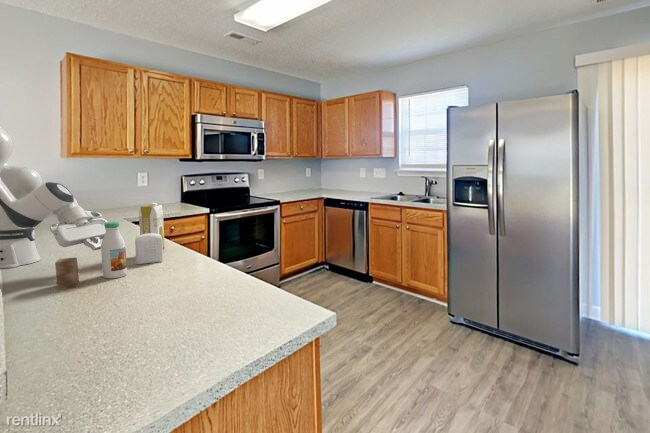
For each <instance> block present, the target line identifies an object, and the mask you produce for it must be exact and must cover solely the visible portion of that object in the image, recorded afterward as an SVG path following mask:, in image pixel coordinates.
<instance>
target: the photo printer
mask: <svg viewBox="0 0 650 433" xmlns="http://www.w3.org/2000/svg"><path fill="white" fill-rule="evenodd" d="M134 241H135V242H134V245H135V264H137V265H143V264H151V263H160V262H161V263H162V262H163V261H164V254H163V245H162V237H161V235H160V234H154V233H148V234H142V235H140V234H139V235H137V236H136V237H135V240H134Z"/></svg>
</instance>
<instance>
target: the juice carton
mask: <svg viewBox="0 0 650 433" xmlns="http://www.w3.org/2000/svg"><path fill="white" fill-rule="evenodd" d="M138 209H139V210H138V219H139V235H142V234H148V233H154V234H160V235H161V237H162V245H163V255H164V254H165V231H164V229H165V228H164V213H163V212H164V211H163V204H158V202H151V203H150V204H147V205H144V206H143V205H141V206H139V207H138Z"/></svg>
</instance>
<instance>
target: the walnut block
mask: <svg viewBox="0 0 650 433" xmlns="http://www.w3.org/2000/svg"><path fill="white" fill-rule="evenodd" d="M54 265H55V266H54V267H55V273H56V276H55V277H56V285H57V287H56V288H57V290H61V289H72V288H76V287H78V286H79V283H80V278H79V277H80V274H79V266H78V265H79V264H78V257H67V258H66V257H65V258H58V259H57V260H56V261H55V262H54Z"/></svg>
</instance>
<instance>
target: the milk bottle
mask: <svg viewBox="0 0 650 433" xmlns="http://www.w3.org/2000/svg"><path fill="white" fill-rule="evenodd" d="M104 226H105V229H106V232H105V236H104V238H103V239H102V241H101V243H100V244H101V249H100V252H101V265H102V267H101V268H102V277H103V278H105V279H117V278H118V279H120V278H123V277H125V276H127V274H128V264H127V251H126V250H127V248H126V242H125V240H124V238H123V236H122V235H121V232H120V222H118V221H107V223H105V224H104Z"/></svg>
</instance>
